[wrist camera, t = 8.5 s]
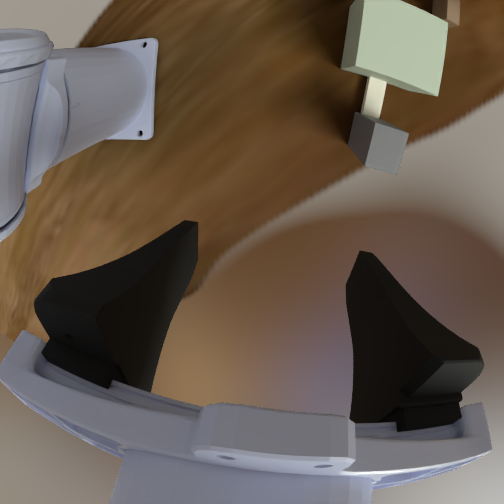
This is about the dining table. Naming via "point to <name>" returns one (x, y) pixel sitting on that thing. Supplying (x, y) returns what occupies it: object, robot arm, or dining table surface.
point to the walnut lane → (447, 11)
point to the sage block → (390, 70)
